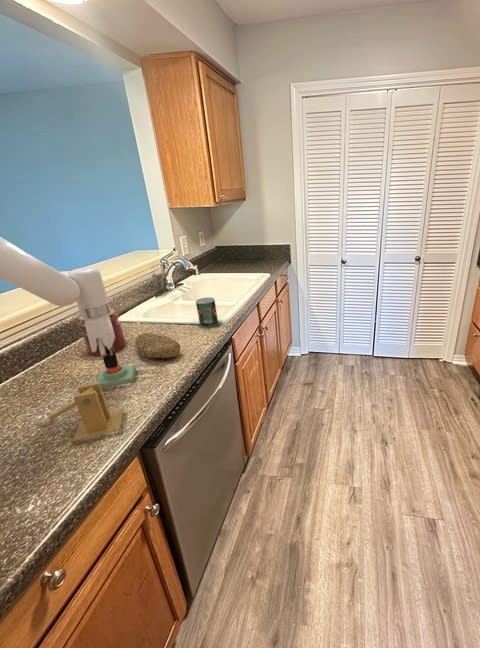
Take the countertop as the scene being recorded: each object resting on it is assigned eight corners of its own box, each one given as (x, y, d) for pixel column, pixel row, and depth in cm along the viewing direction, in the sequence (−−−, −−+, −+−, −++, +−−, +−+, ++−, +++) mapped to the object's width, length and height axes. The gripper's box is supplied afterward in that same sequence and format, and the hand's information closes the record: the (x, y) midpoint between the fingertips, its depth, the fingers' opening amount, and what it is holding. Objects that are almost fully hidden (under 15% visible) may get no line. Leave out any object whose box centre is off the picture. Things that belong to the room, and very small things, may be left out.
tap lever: (41, 434, 76) (29, 424, 74) (46, 424, 79) (34, 415, 77) (97, 401, 78) (87, 391, 76) (100, 393, 81) (90, 383, 79)
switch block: (97, 391, 98) (93, 380, 96) (102, 378, 105) (98, 367, 103) (133, 383, 101) (130, 372, 99) (136, 371, 108) (133, 360, 106)
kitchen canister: (101, 359, 117) (86, 313, 110) (81, 351, 123) (66, 308, 116) (133, 344, 127) (121, 301, 120) (114, 337, 133) (101, 297, 126)
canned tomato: (196, 324, 142) (192, 300, 138) (212, 319, 147) (209, 296, 143) (205, 329, 137) (200, 304, 132) (221, 323, 142) (218, 300, 137)
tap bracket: (74, 444, 77) (57, 404, 73) (82, 423, 84) (67, 385, 80) (120, 432, 80) (107, 393, 76) (124, 413, 87) (112, 376, 83)
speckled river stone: (134, 353, 122) (142, 364, 106) (132, 332, 121) (140, 340, 105) (170, 348, 129) (183, 358, 113) (169, 329, 128) (182, 336, 112)
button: (107, 375, 99) (105, 370, 98) (109, 369, 102) (107, 364, 102) (120, 372, 100) (118, 367, 100) (121, 367, 103) (120, 362, 103)
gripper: (86, 304, 99) (102, 357, 106) (73, 321, 86) (93, 380, 93) (113, 301, 101) (128, 353, 108) (105, 317, 88) (122, 375, 95)
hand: (112, 365), depth 100 cm, fingers closed
